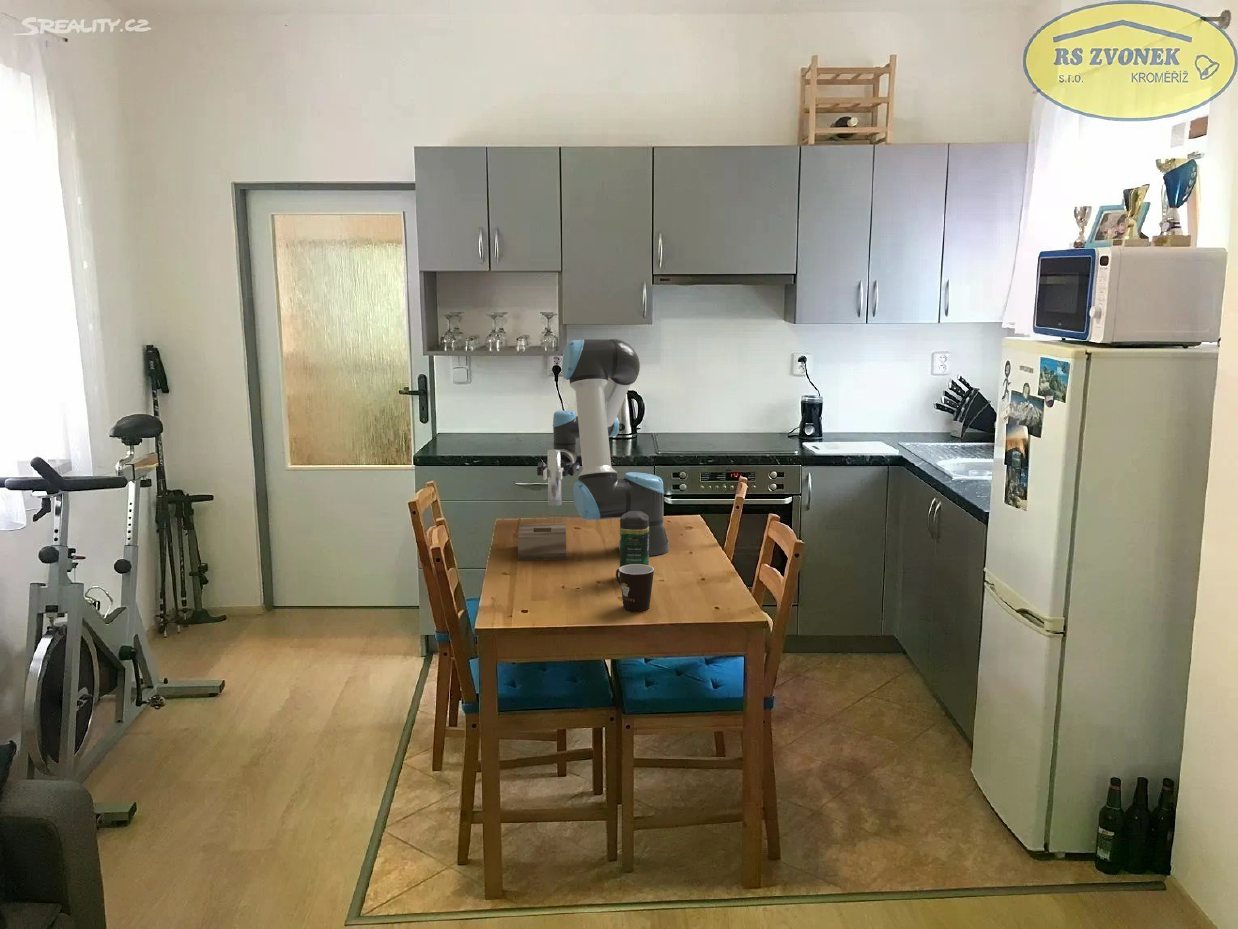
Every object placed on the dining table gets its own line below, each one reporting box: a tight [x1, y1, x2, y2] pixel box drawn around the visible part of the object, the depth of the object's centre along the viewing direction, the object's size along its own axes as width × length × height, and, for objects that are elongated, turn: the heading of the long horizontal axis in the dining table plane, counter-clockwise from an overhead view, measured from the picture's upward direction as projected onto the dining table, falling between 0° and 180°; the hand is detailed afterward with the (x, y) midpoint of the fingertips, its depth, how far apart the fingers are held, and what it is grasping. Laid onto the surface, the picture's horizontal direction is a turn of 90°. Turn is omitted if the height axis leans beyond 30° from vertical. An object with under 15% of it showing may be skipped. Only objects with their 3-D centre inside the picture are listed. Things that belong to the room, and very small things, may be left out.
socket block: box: [517, 522, 567, 561], centre depth 289 cm, size 16×14×7 cm
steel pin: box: [547, 448, 562, 507], centre depth 298 cm, size 4×4×17 cm
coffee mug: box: [615, 564, 655, 613], centre depth 239 cm, size 12×9×10 cm
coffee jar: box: [619, 511, 650, 568], centre depth 261 cm, size 10×8×19 cm
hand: (552, 475), depth 293 cm, fingers closed on steel pin, 4 cm apart
